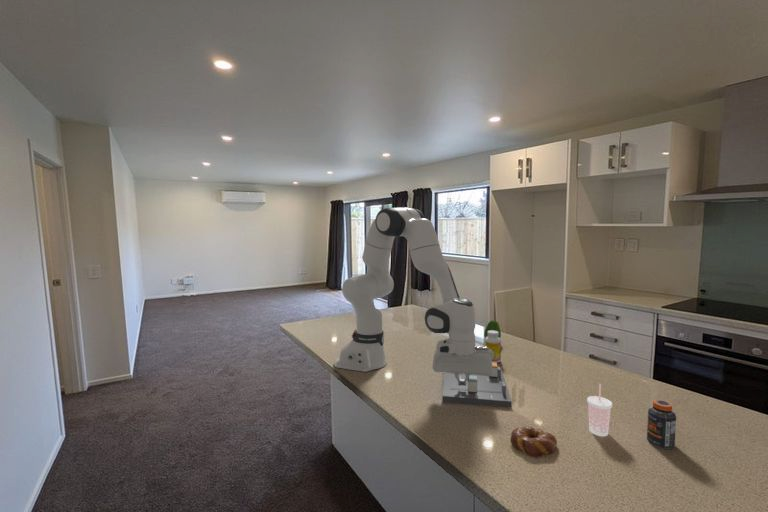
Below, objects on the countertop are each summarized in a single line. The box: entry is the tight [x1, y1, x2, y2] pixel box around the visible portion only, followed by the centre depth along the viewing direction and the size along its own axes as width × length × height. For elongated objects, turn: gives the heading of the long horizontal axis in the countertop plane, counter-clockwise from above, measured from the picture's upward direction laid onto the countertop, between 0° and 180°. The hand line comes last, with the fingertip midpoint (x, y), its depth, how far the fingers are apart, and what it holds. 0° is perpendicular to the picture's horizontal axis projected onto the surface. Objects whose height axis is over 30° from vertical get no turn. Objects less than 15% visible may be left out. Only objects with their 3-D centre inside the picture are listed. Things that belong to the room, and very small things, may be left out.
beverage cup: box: [586, 383, 613, 437], centre depth 100 cm, size 6×6×14 cm
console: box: [442, 366, 513, 408], centre depth 130 cm, size 22×26×5 cm
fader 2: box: [489, 362, 499, 377], centre depth 135 cm, size 3×4×4 cm
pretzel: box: [510, 425, 558, 458], centre depth 95 cm, size 12×11×4 cm
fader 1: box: [468, 376, 477, 392], centre depth 123 cm, size 3×4×4 cm
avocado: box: [483, 320, 502, 339], centre depth 177 cm, size 8×8×12 cm
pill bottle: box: [646, 399, 677, 450], centre depth 95 cm, size 6×6×11 cm
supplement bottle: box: [484, 330, 502, 364], centre depth 155 cm, size 7×7×13 cm
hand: (462, 384), depth 124 cm, fingers closed
